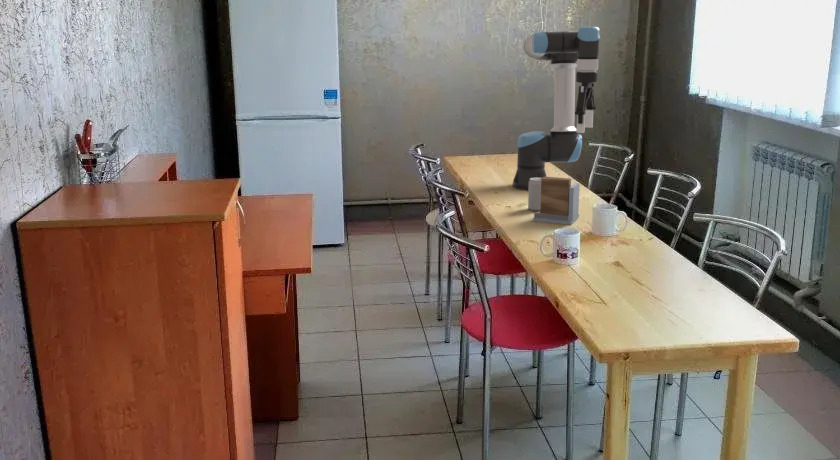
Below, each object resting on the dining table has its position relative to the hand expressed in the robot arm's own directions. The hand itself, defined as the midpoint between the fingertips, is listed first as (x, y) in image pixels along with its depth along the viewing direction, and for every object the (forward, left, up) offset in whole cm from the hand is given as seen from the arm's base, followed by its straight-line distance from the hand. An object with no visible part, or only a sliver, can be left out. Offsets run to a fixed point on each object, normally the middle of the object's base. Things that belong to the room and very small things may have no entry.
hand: (584, 130), depth 289 cm
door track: (+14, -6, -31) cm, 34 cm away
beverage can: (+3, -17, -31) cm, 35 cm away
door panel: (+14, -6, -30) cm, 33 cm away
